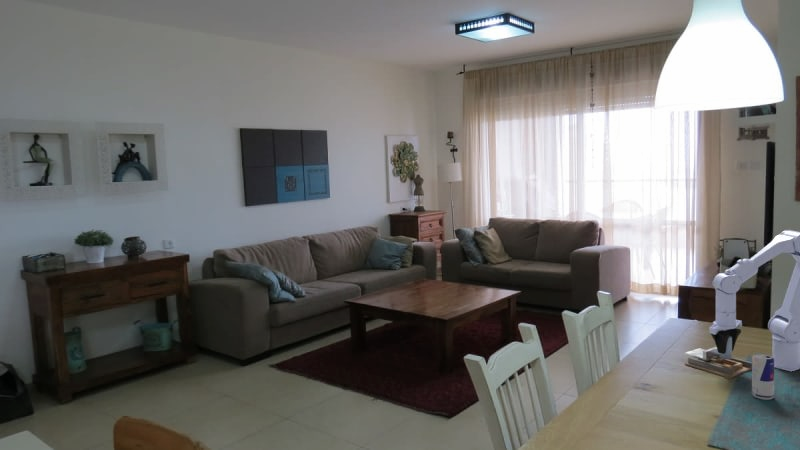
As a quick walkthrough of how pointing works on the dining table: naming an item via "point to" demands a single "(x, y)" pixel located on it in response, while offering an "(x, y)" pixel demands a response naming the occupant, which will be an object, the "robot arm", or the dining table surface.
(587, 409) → the dining table surface
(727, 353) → the light blue rounded cylinder
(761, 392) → the energy drink
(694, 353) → the cover
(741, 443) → the dining table surface
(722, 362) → the wooden square tray
